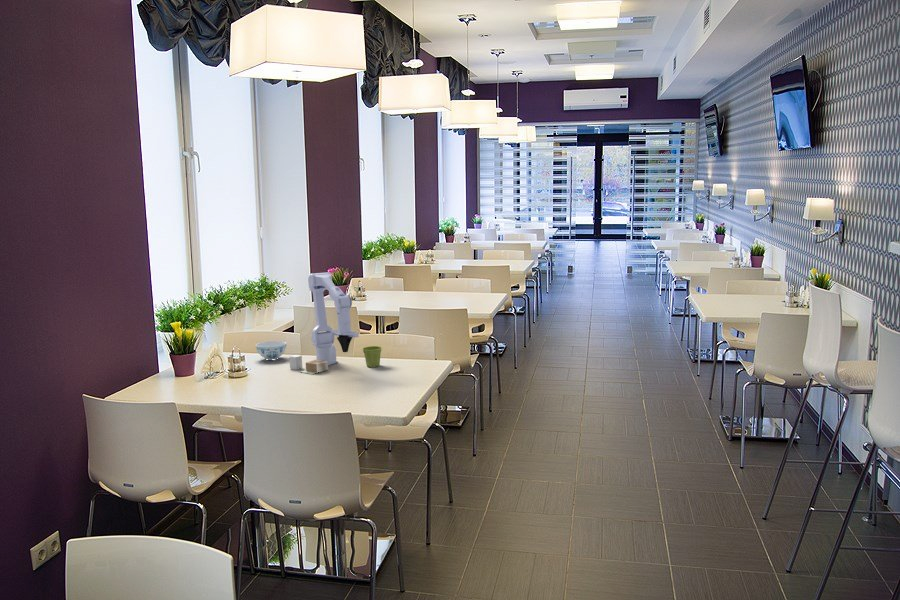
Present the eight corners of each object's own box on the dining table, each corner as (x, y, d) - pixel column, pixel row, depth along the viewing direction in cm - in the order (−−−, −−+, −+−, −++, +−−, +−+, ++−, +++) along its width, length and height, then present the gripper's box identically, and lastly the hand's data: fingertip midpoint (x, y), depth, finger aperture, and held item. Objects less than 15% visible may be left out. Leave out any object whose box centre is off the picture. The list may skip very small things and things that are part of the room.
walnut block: (327, 369, 364) (316, 368, 368) (327, 361, 363) (315, 359, 367) (317, 372, 358) (306, 371, 362) (317, 364, 357) (305, 362, 361)
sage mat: (316, 367, 370) (316, 366, 370) (329, 369, 366) (329, 368, 366) (299, 372, 361) (299, 371, 361) (313, 374, 357) (313, 373, 357)
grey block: (296, 367, 372) (295, 354, 372) (302, 368, 370) (301, 355, 370) (290, 369, 369) (289, 356, 368) (296, 369, 367) (295, 357, 366)
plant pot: (364, 369, 365) (363, 350, 364) (361, 364, 374) (361, 346, 373) (384, 367, 367) (383, 349, 366) (381, 363, 376) (380, 345, 375)
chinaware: (262, 356, 400) (261, 341, 399) (291, 355, 398) (290, 340, 397) (252, 362, 385) (251, 347, 384) (281, 362, 384) (281, 347, 382)
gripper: (325, 322, 355) (327, 352, 356) (350, 324, 347) (352, 355, 349) (336, 320, 360) (337, 349, 362) (360, 322, 353) (362, 351, 355)
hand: (345, 351), depth 356 cm, fingers closed
